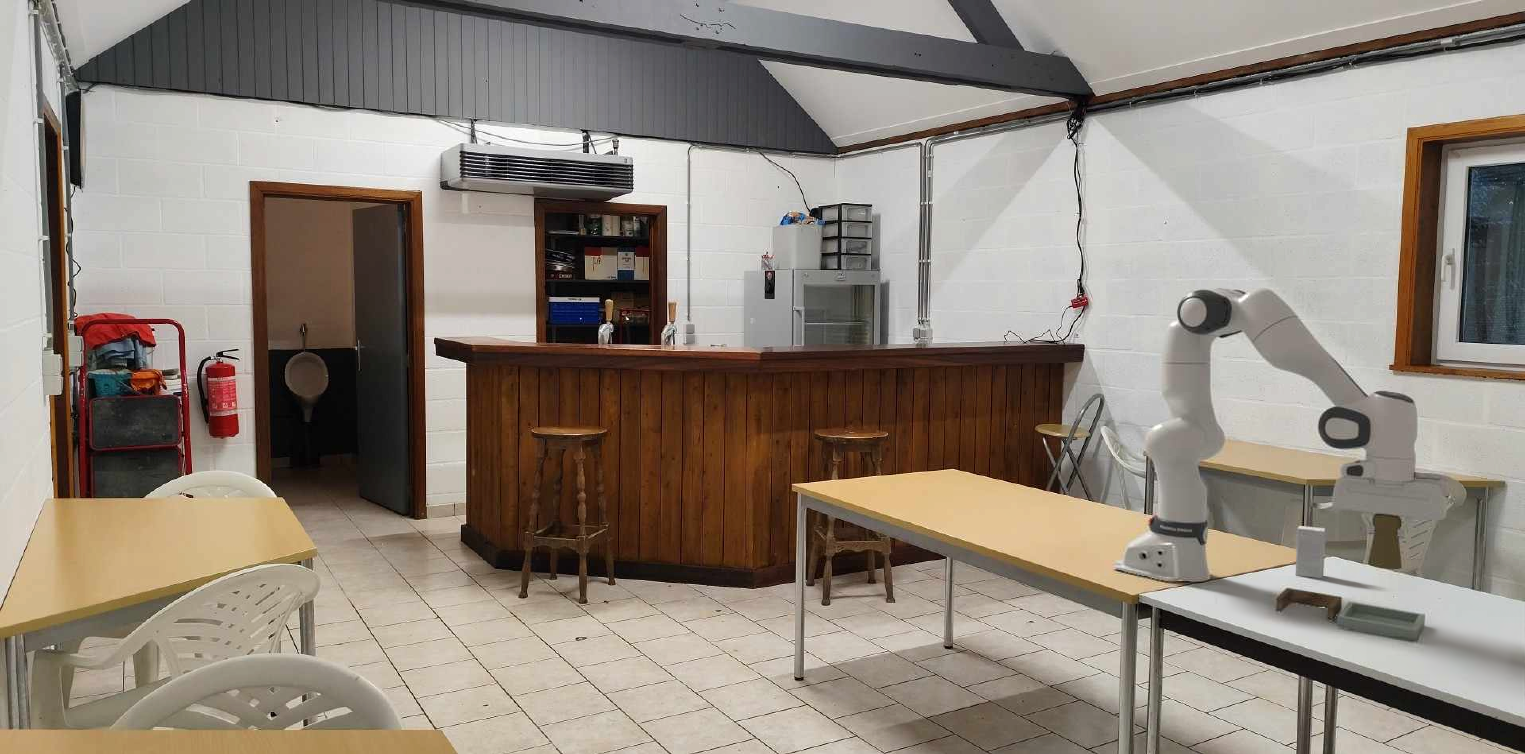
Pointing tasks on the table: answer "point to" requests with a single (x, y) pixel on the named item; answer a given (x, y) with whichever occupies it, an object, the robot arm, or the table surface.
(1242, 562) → the table surface
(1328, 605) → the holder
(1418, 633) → the tray
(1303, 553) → the skincare box
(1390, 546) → the brown knobbed cone
